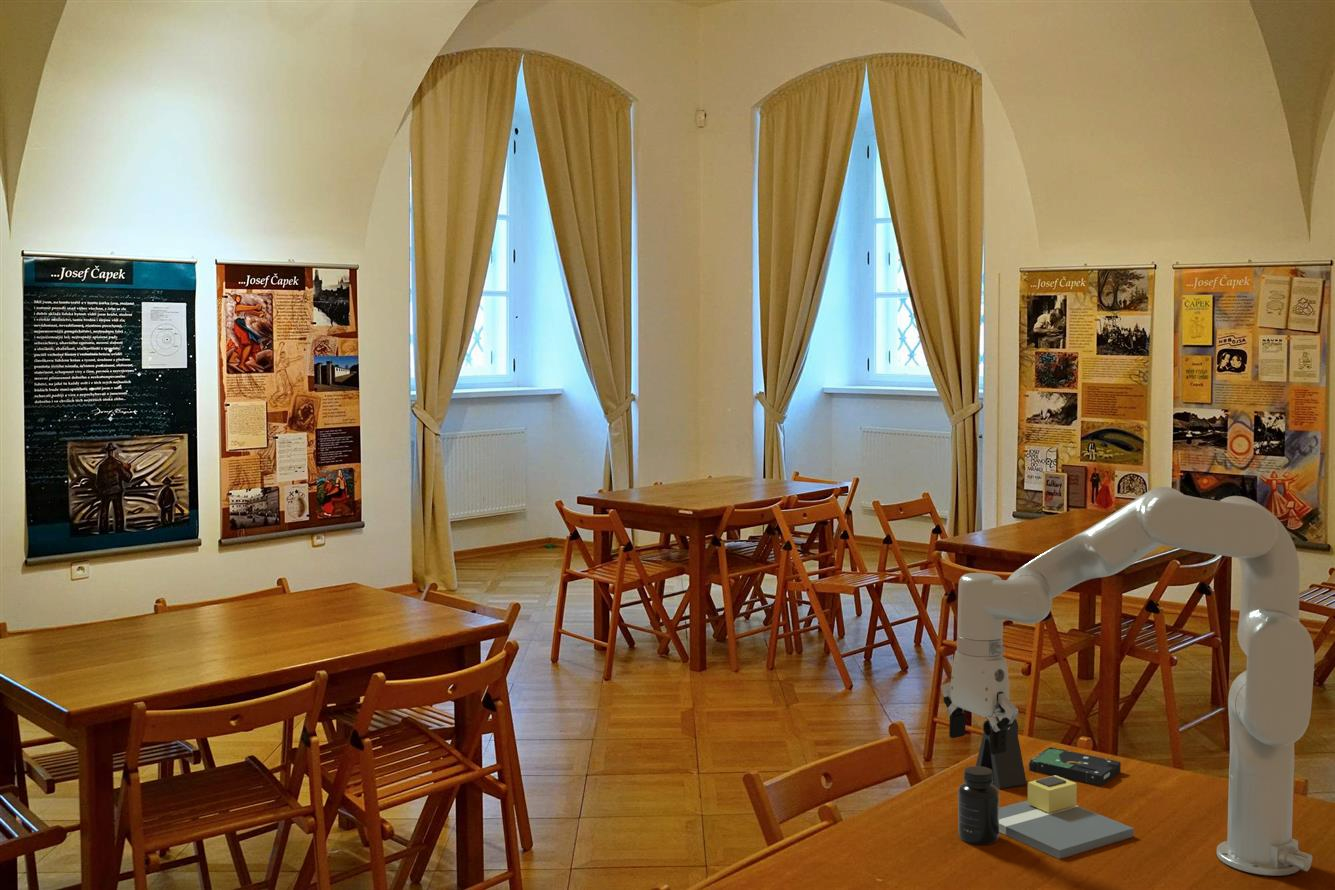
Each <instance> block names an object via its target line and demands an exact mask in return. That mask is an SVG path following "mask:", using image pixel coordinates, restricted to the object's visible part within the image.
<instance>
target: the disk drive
mask: <svg viewBox="0 0 1335 890" xmlns="http://www.w3.org/2000/svg"><path fill="white" fill-rule="evenodd" d="M1121 763H1122V762H1121V761H1117V760H1115V759H1109V758H1104V757H1100V756H1099V757H1098V756H1093V755H1090V754H1086V753H1085V754H1084V753H1081V752H1080V753H1079V752H1075V751H1070V750H1066V749H1062V748H1056V747H1052V746H1050V747H1048V748H1046V749H1044V750H1043V751H1041V752H1039V753H1038V755H1036V756H1035V757H1033V758H1030V759H1029V762H1028V770H1029V772H1035V773H1038V774H1042V775H1043V774H1044V775H1049V776H1054V775H1056V776H1059V777H1061V778H1064V779H1067V780H1069V781H1075V782H1080V783H1084V784H1088V785H1093V786H1097V787H1102V786H1104V785H1105V784H1107V783H1108V782H1109V781H1110V780H1112V779H1113V778H1115V777H1116V776H1118V775H1119V774H1121V770H1122V769H1121Z"/></svg>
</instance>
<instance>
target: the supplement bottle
mask: <svg viewBox="0 0 1335 890" xmlns="http://www.w3.org/2000/svg"><path fill="white" fill-rule="evenodd" d="M963 781H964V782H962V783H961V785H960V786H959V787H958V791H957V792H958V793H957V802H958V803H957V807H958V810H957V812H958V813H957V815H958V819H957V821H958V828H957V829H958V836H959V838H960V839H961V840H962V841H963V842H965V843H968V844H971V845H976V846H977V845H979V846H981V845H982V846H988V845H992V844H994V843H996V842H997V841H998V840H999V837H1000V832H999V808H1000V792H999V789H998V788H996V786H994V785H993V784H992V783H993V771H992V770H991V769H989V768H987V767H982V766H976V765H972V766H967V767H966V768H964V770H963Z"/></svg>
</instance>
